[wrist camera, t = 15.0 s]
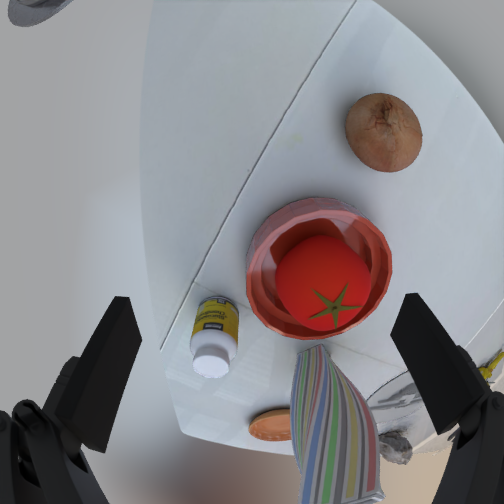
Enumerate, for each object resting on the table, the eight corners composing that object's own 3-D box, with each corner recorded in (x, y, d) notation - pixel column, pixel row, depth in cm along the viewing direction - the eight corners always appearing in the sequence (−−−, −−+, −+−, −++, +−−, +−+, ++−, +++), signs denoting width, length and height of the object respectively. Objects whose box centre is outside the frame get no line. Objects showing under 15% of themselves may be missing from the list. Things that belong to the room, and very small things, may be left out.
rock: (369, 441, 67) (399, 465, 54) (389, 421, 70) (420, 443, 57) (373, 451, 74) (398, 472, 61) (391, 434, 77) (416, 453, 64)
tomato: (315, 309, 42) (330, 359, 32) (255, 266, 38) (258, 315, 29) (368, 260, 38) (399, 302, 29) (313, 207, 34) (336, 240, 25)
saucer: (271, 437, 64) (271, 446, 61) (235, 417, 58) (235, 427, 55) (322, 419, 60) (324, 428, 57) (292, 397, 54) (294, 407, 51)
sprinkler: (471, 412, 59) (470, 399, 52) (462, 398, 66) (459, 383, 58) (508, 378, 55) (513, 358, 47) (499, 365, 61) (501, 343, 54)
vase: (296, 385, 52) (314, 519, 25) (265, 349, 47) (275, 517, 20) (356, 359, 49) (400, 494, 22) (335, 318, 44) (391, 488, 17)
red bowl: (247, 193, 34) (247, 207, 29) (385, 200, 35) (406, 214, 29) (246, 314, 43) (246, 341, 38) (360, 311, 43) (372, 335, 38)
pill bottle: (238, 294, 41) (235, 350, 31) (239, 326, 44) (237, 382, 34) (195, 294, 41) (181, 349, 31) (200, 326, 44) (189, 380, 34)
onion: (340, 111, 32) (340, 76, 23) (405, 113, 30) (424, 80, 20) (347, 178, 33) (352, 161, 24) (414, 179, 30) (441, 164, 21)
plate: (343, 427, 63) (344, 430, 62) (391, 366, 51) (393, 370, 50) (415, 415, 65) (417, 418, 64) (465, 357, 53) (467, 360, 52)
